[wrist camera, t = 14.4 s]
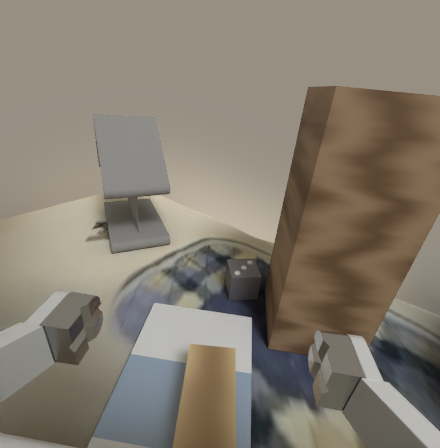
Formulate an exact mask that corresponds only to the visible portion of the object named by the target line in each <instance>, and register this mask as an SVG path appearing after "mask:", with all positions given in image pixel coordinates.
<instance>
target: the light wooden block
mask: <svg viewBox="0 0 440 448" xmlns="http://www.w3.org/2000/svg"><path fill="white" fill-rule="evenodd" d="M172 448H236V362H235V348H228V347H218V346H207V345H197V344H190V347H189V353H188V359H187V365H186V371H185V377H184V383H183V388H182V394H181V400H180V406H179V412H178V418H177V424H176V430H175V435H174V441H173V447H172Z"/></svg>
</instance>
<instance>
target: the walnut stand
mask: <svg viewBox="0 0 440 448" xmlns="http://www.w3.org/2000/svg"><path fill="white" fill-rule="evenodd" d="M439 213H440V96H435V95H424V94H414V93H403V92H392V91H381V90H371V89H361V88H350V87H339V86H329V87H308V90H307V95H306V99H305V104H304V109H303V114H302V118H301V123H300V127H299V132H298V136H297V141H296V146H295V150H294V155H293V160H292V164H291V169H290V173H289V178H288V183H287V188H286V192H285V197H284V201H283V206H282V211H281V216H280V220H279V225H278V229H277V234H276V238H275V243H274V248H273V252H272V257H271V262H270V266H269V271H268V275H267V280H266V285H265V303H266V321H267V340H268V349H273V350H279V351H285V352H292V353H298V354H304V355H309V350H310V347H311V345H312V344H314V343H315V339H314V336H315V333H316V332H317V331H318V330H323V331H330V332H337V333H344V334H350V335H357V336H362V337H363V338H364V339H365V341H366V343H367V346H368V347H369V345H370V343H371V341H372V339H373V337H374V335H375V333H376V332H377V330H378V328H379V326H380V324H381V322H382V320H383V318H384V316H385V315H386V313H387V311H388V309H389V307H390V305H391V303H392V301H393V299H394V298H395V296H396V294H397V292H398V290H399V288H400V286H401V284H402V282H403V280H404V279H405V277H406V275H407V273H408V271H409V269H410V267H411V265H412V264H413V262H414V260H415V258H416V256H417V254H418V252H419V250H420V249H421V247H422V245H423V242H424V241H425V239H426V237H427V235H428V233H429V232H430V230H431V228H432V226H433V224H434V222H435V220H436V218H437V217H438V215H439Z"/></svg>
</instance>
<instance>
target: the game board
mask: <svg viewBox="0 0 440 448" xmlns="http://www.w3.org/2000/svg"><path fill="white" fill-rule="evenodd" d="M190 344H197V345H207V346H218V347H228V348H235V362H236V448H251V354H252V318H251V317H245V316H238V315H231V314H225V313H218V312H212V311H205V310H198V309H192V308H185V307H178V306H172V305H165V304H159V303H154V305H153V307H152V309H151V311H150V313H149V316H148V318H147V320H146V322H145V324H144V326H143V329H142V331H141V333H140V335H139V337H138V339H137V341H136V344H135V346H134V348H133V350H132V352H131V354H130V357H129V359H128V361H127V363H126V365H125V367H124V369H123V372H122V374H121V376H120V378H119V380H118V382H117V384H116V387H115V389H114V391H113V393H112V395H111V397H110V400H109V402H108V404H107V406H106V408H105V410H104V412H103V415H102V417H101V419H100V421H99V423H98V425H97V428H96V430H95V432H94V434H93V436H92V438H91V440H90V443H89V445H88V447H87V448H172V447H173V441H174V435H175V430H176V424H177V418H178V412H179V406H180V400H181V394H182V388H183V383H184V377H185V371H186V365H187V359H188V353H189V347H190Z"/></svg>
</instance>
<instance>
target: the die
mask: <svg viewBox="0 0 440 448" xmlns="http://www.w3.org/2000/svg"><path fill="white" fill-rule="evenodd" d="M261 280H262V276H261V273H260V271H259V269H258V266H257V264H256V261H255V259H227V265H226V273H225V285H226V289H227V294H228V299H229V300H257V299H258V294H259V290H260V285H261Z"/></svg>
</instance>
